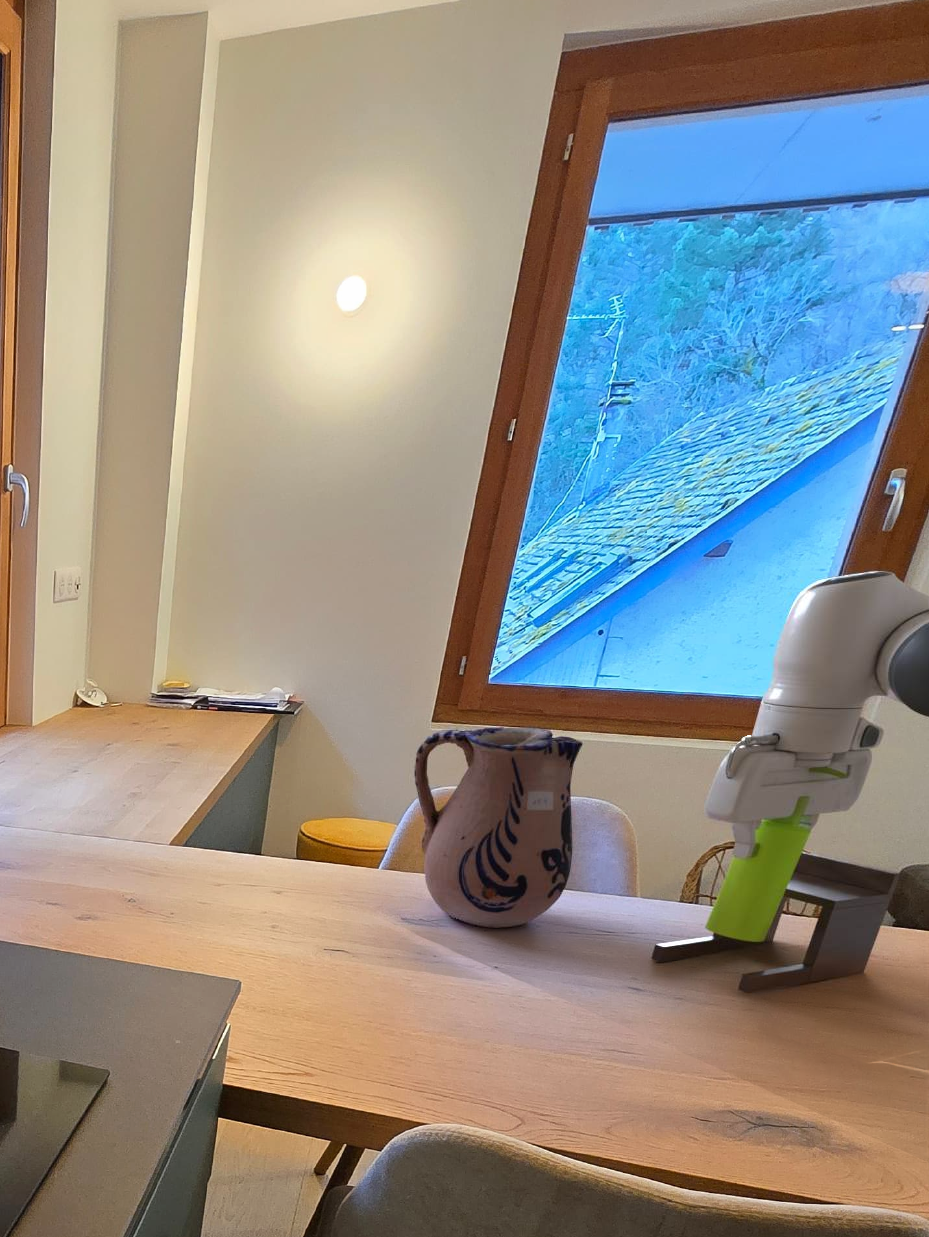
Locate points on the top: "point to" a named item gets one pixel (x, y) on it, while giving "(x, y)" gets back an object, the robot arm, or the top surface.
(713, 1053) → the top surface
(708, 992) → the top surface
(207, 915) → the top surface
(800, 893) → the stand
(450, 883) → the ceramic pitcher
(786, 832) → the soap dispenser
